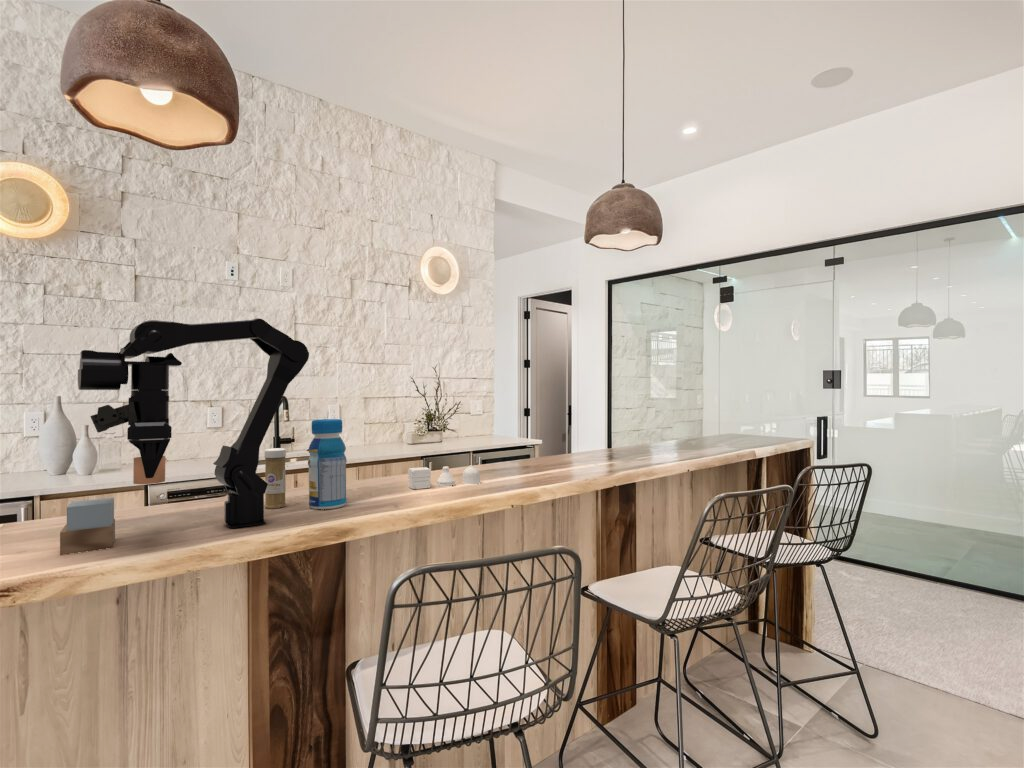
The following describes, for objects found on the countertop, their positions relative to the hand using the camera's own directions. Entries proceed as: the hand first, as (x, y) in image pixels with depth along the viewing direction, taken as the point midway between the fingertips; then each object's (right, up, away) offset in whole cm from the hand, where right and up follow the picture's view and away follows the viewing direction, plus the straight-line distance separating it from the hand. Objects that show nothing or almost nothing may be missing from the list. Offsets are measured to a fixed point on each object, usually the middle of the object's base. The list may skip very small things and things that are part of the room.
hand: (149, 476), depth 99 cm
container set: (+47, -12, +53) cm, 72 cm away
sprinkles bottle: (+11, -12, +27) cm, 32 cm away
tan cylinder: (0, -1, 0) cm, 1 cm away
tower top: (-8, -8, -4) cm, 12 cm away
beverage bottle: (+23, -12, +27) cm, 37 cm away
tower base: (-8, -12, -4) cm, 15 cm away
